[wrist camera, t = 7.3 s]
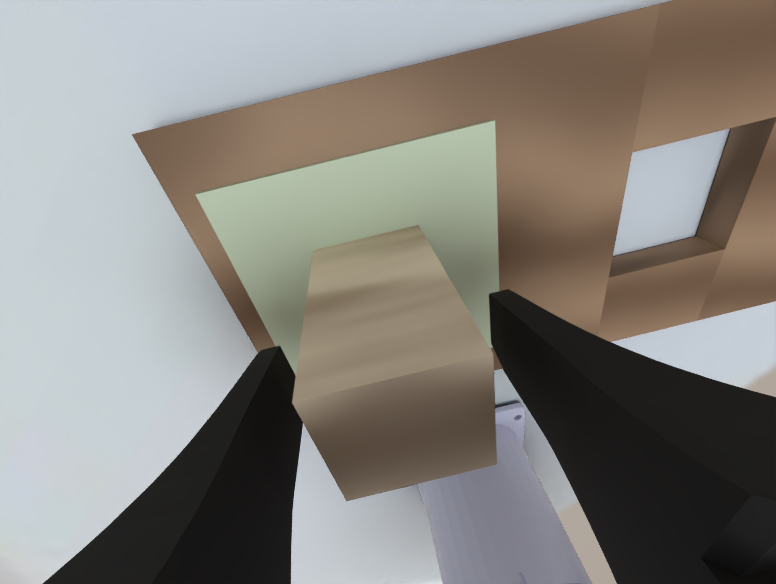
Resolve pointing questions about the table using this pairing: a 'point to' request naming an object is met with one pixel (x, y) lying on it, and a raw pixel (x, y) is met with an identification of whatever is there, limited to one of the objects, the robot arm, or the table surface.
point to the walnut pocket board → (545, 157)
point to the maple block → (392, 367)
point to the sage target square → (363, 220)
